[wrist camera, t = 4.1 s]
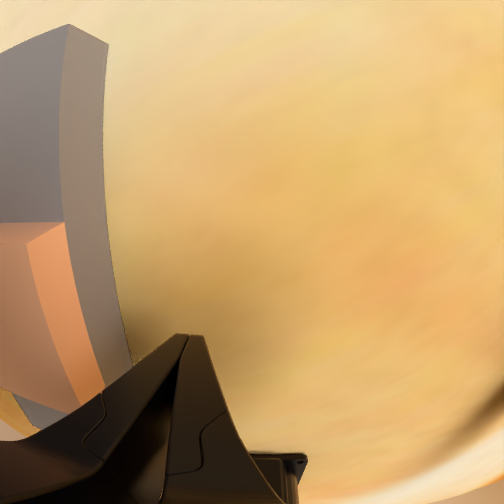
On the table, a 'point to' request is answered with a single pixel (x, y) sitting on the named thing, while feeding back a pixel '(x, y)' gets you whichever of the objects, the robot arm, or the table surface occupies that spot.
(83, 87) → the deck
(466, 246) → the table surface
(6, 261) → the coaster
